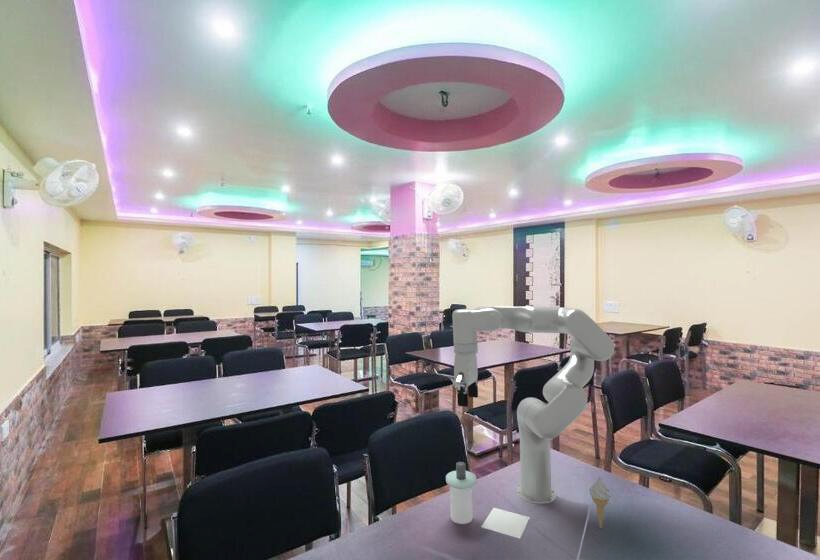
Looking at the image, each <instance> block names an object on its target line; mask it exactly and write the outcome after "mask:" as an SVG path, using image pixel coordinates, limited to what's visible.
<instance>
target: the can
mask: <svg viewBox="0 0 820 560" xmlns="http://www.w3.org/2000/svg"><path fill="white" fill-rule="evenodd" d="M449 504H450V506H449V507H450V519H451V521H452V522H454V523H455V524H459V525H460V524H461V525H467V524H469V523H471V522H472V521H473V517H474V516H473V515H474V514H473V487H471V488H467V489H458V488H454V487H451V486H449Z"/></svg>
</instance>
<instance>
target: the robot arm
mask: <svg viewBox="0 0 820 560" xmlns="http://www.w3.org/2000/svg"><path fill="white" fill-rule="evenodd" d="M451 316H452V335H453V336H452V337H453V353H454V361H453V362H454V364H453V383H454V385H455V386H456V387H455V389H456V393H457V394H456V397H457V406H459V407H468V406H469V399H468V398H475V399H476V398H478V397H479V387H478V385H479V383H478V376H479V373H478V360H477V359H478V358H477V354H478V353H479V351H478V350H479V349H478V347H479V346H478V332H487V333H490V332H491V333H492V332H497V331H498V330H499V329H504V330H505V329H506V330H511V331H512V330H514V331H518V332H521V333H533V334H536V333H540V334H546V333H547V334H549V333H550V334H566V335H570V336H571V338H570V340H569V341H570V342H569V347H570V357H569V359H568V361H567V362H566V364H565V365H564V366H563V367H562V368H561V369H560V370H559V371H558V372H557V373H556V374H554V375H553V376H552V377H551V378H550V379H549V380H547V382H546V383H545V384H544V385H543V388H542V395H543V397H544V399H545V400H546V401H547V403H545V402H544V401H542V400H540V399H538V398H537V397H526V398H524V399H522V400H521V401H520V402H519V404H518V406H517V409H516V420H517V426H518V433H519V461H520V463H519V464H520V468H519V469H520V485H518V486H517V487H516V490H515V491H516V492H515V493H516V495H517V496H518V497H519V498H520V499H521V500H523V501H526V502H529V503H532V504H537V505H539V504H540V505H543V504H550V503H553V502H555V500H556V499H557V493H556V491H555V490H554V489H553V488H552V462H551V461H552V460H551V440H553V439H555V438H557V437H558V436H559V435H561V434H562V433H564V431H565V430H567V428H569V426H571V425H572V424H573V423H574V421H576V420H577V419H578V418H579V417H580V416H581V415H582V414H583V412H584V411H585V409H586V407H587V404H588V394H587V392H586V391H585V389H584V387H585V386H586V385H587V384H588V383H589V382H590V381H591V379H592V377H593V374H594V370H595V361H597V362H605V361H607V360H609V359H611V358H612V357H613V355H614V352H615V344H614V341H613V340H612V338H611V337H610V336H609V335H608V333H606V331H605V330H604V329H602V327H600V325H598V324H597V322H595V320H593V318H591V317H590V316H589V315H588V314H587V313H586V312H584V311H583V310H581V309H579V308H572V307H564V306H563V307H562V306H522V305H521V306H497V305H494V306H493V305H491V306H490V305H489V306H488V305H480V306H477V307H475V308H474V309H471V308H462V309H461V308H458V309H455V310H454V311H453V312H452V314H451Z"/></svg>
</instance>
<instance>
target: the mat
mask: <svg viewBox="0 0 820 560" xmlns="http://www.w3.org/2000/svg"><path fill="white" fill-rule="evenodd" d="M529 521H530V516H526V515H522V514H520V513H516V512H511V511H507V510H504V509H500V508H497V507H493V508H492V509H491V511H490V512H489V514H488V515H487V517H486V519H485V520H484V522H483V523H482V525H481V526H480V528H483V529H485V530H486V529H487V530H490V531H493V532H495V533H499V534H503V535H506V536H508V537H512V538H516V539H519V540H520V539H521V538H522V535H523V533H524V531H525V529H526V527H527V525H528V522H529Z"/></svg>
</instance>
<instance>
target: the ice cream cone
mask: <svg viewBox="0 0 820 560" xmlns="http://www.w3.org/2000/svg"><path fill="white" fill-rule="evenodd" d="M589 495H590V496H591V498H592V499H591V501H593V503H595V505H596V512H597V519H598V526H599V527H598V528H599V529H600V530H602V529H603V523H604V515H605V506H606V505H608V504H609V500H610V499H611V496H612V493H610V490H609V488H608V487H607V486H606V484H605V483H604V481H603V480H602V478H601V476H600V475H599V476H598V477H597V480H596V481H595V482H593V484H592V486H591V487H590V488H589Z"/></svg>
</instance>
